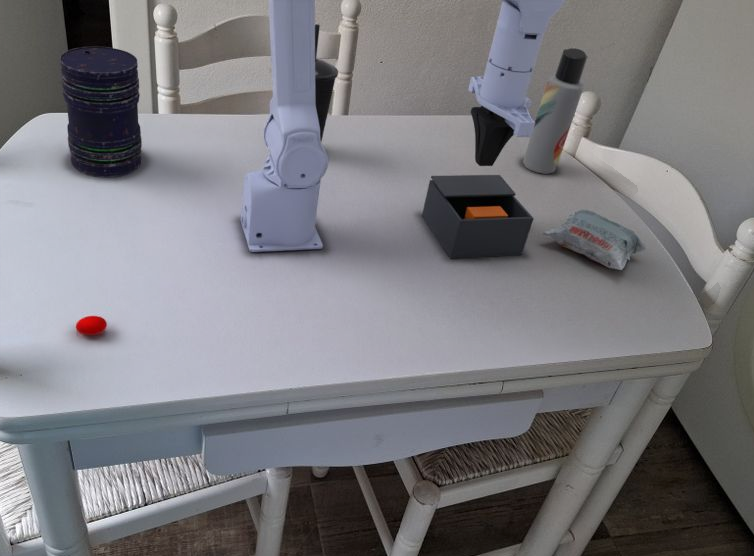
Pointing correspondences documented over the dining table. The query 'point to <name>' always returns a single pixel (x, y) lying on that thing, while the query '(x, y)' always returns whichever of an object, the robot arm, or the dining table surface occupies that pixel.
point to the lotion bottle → (556, 113)
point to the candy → (91, 325)
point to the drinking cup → (323, 85)
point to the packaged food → (597, 239)
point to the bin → (476, 225)
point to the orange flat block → (485, 212)
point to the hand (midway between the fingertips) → (483, 163)
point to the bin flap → (472, 186)
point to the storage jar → (102, 110)
